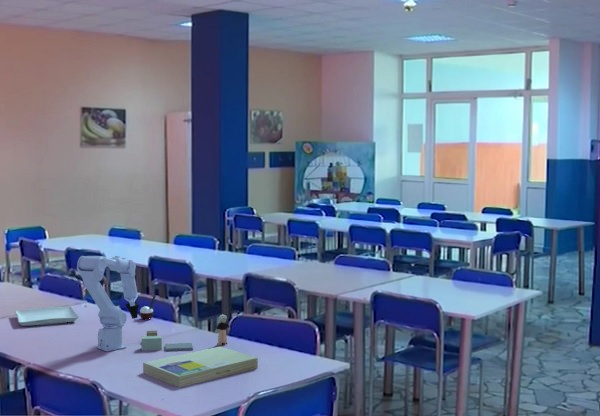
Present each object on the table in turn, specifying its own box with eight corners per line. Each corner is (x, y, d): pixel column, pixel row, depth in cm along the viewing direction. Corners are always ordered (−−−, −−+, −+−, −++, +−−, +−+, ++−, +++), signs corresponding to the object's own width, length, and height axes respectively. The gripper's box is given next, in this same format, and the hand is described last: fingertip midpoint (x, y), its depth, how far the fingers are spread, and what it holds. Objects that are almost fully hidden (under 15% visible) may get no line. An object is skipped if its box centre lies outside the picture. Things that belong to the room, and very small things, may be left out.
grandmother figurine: (220, 346, 313) (220, 316, 312) (213, 344, 315) (213, 315, 315) (232, 342, 319) (232, 313, 318) (225, 341, 322) (225, 312, 321)
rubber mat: (191, 345, 315) (191, 342, 315) (192, 349, 307) (192, 347, 307) (165, 346, 313) (165, 343, 313) (165, 351, 305) (165, 348, 305)
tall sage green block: (161, 347, 311) (161, 335, 311) (161, 350, 307) (161, 338, 307) (142, 348, 310) (141, 336, 309) (141, 350, 306) (141, 338, 305)
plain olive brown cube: (157, 343, 318) (157, 332, 318) (146, 343, 318) (146, 333, 317) (157, 340, 323) (157, 330, 323) (146, 340, 322) (146, 330, 322)
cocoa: (136, 319, 365) (135, 295, 364) (147, 317, 370) (146, 293, 369) (147, 321, 358) (145, 297, 358) (158, 319, 363) (156, 295, 362)
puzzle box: (258, 369, 281) (220, 356, 299) (258, 357, 281) (220, 345, 299) (177, 389, 257) (141, 374, 275) (177, 376, 257) (141, 361, 274)
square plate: (14, 317, 368) (14, 309, 368) (71, 313, 380) (71, 305, 379) (18, 329, 344) (18, 320, 343) (79, 324, 355) (79, 315, 355)
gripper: (140, 290, 314) (144, 319, 319) (137, 277, 328) (142, 305, 332) (123, 293, 313) (128, 322, 317) (121, 280, 326) (126, 308, 330)
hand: (134, 314), depth 325 cm, fingers open, 7 cm apart
